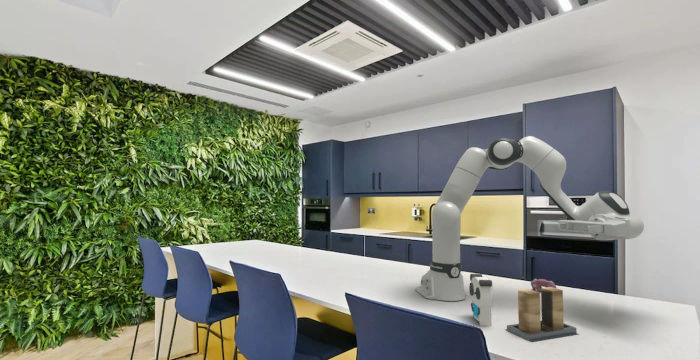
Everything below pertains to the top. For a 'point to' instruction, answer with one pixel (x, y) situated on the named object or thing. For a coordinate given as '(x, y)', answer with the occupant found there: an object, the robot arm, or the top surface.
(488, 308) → the panda figurine
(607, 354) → the top surface
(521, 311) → the block
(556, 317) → the oak finger
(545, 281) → the video game controller
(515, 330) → the dark grey tray
